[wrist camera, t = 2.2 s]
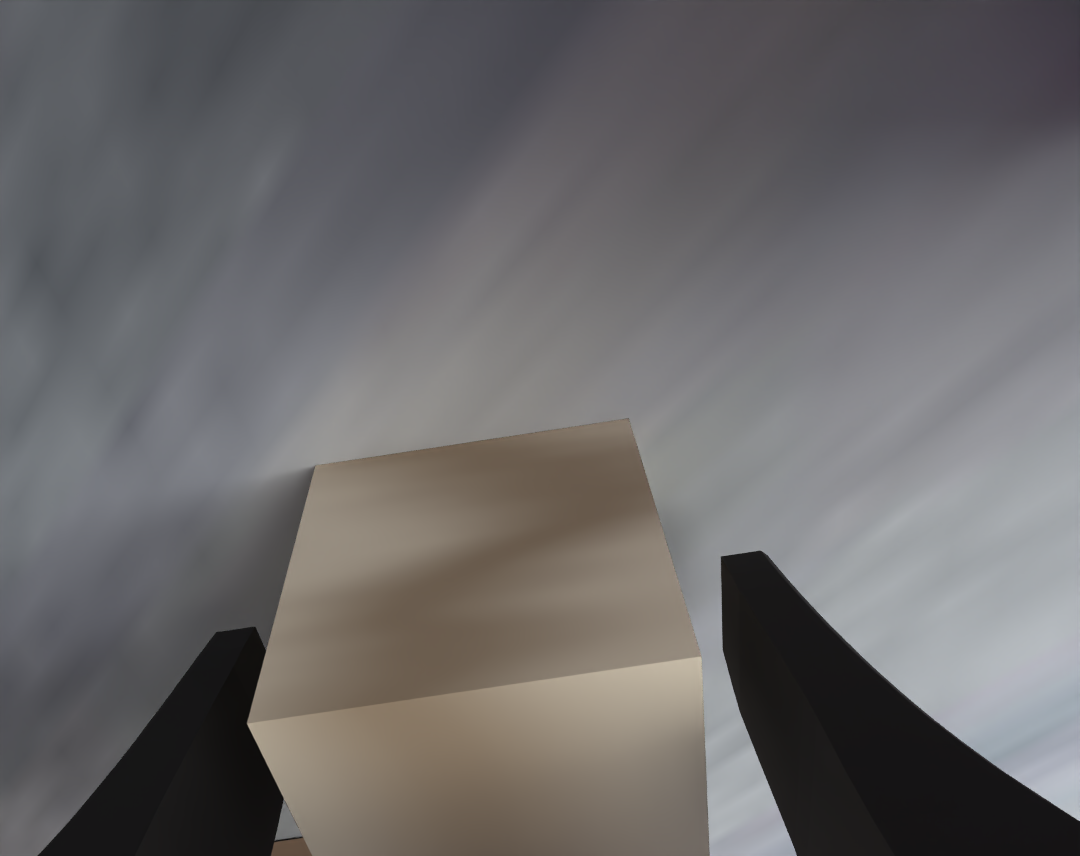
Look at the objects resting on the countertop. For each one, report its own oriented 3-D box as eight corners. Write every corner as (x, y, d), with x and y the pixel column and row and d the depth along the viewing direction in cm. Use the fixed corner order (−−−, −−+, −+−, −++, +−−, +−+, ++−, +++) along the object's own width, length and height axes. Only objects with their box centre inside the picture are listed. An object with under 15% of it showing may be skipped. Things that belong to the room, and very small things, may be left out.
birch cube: (627, 415, 13) (701, 655, 9) (647, 636, 16) (711, 901, 12) (316, 462, 13) (247, 723, 9) (388, 674, 16) (359, 952, 12)
